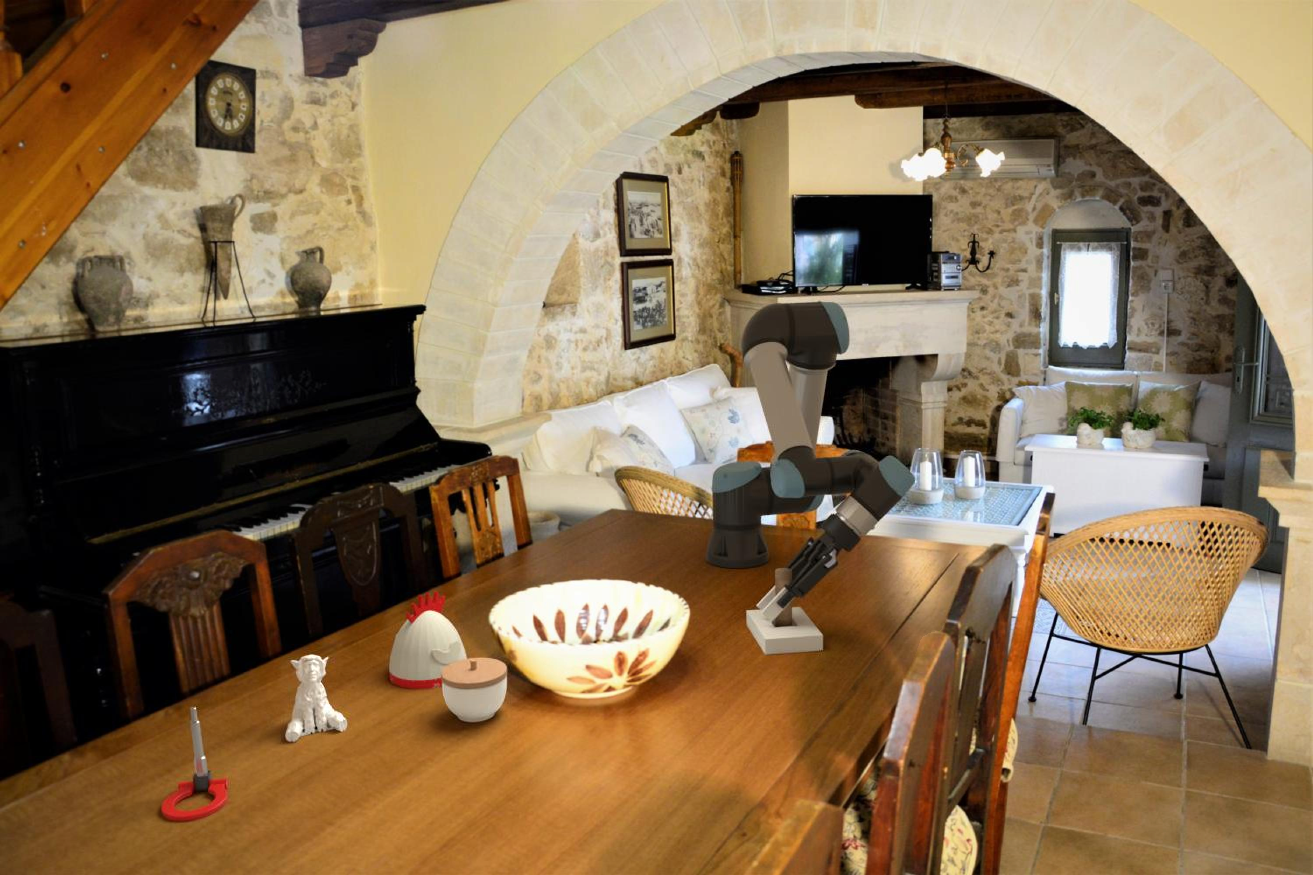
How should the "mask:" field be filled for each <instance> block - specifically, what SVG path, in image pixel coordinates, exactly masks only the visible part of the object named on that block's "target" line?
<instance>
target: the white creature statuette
mask: <svg viewBox="0 0 1313 875" xmlns="http://www.w3.org/2000/svg"><path fill="white" fill-rule="evenodd" d="M328 659H329V656H327V657H325V658H323V659H322V657H321V656H319V655H316V654H309V655H304V656H301V657H300V659H298V660H293V659H291V660H290V663H291V664H292V665H293V668H295V669H296V670H295V674H296V677H297V679H298V681H299V682H300V685H298V687H297V689H296V690H297V691H296V695H295V697H294V698H295V701H294V702H295V703H294V705H293V709H292V714H291V715H292V718H291V720H290V722H288V724H287V728H286V730H285V735H284V736H285V739H286V741H287V742H293V743H295V742H296V741H298V740H299V738H300V737H305V736H309V735H311V733H312V734H315V733H316V732H319V733H322V731H323V732H326V731H330V730H336V731H339V732H341V733H342V732H343V731H346V729H347V727H348V721H347V719H346V717H344V715H343V714H342V713H341V712H339V711H337V710H335V709H334V708H333V707H332V705H331V704H330V702H329V700H328V698H327V696H328V695H327V690H326V689H325V687H324V685H323V683H322V682H321V681H322V679H323V677H325V676H326V675H327V672H326V665H327V661H328ZM316 727H317V729H316Z"/></svg>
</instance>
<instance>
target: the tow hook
mask: <svg viewBox="0 0 1313 875" xmlns="http://www.w3.org/2000/svg"><path fill="white" fill-rule="evenodd" d="M189 711H190V717H191V721H190V723H189V724H190V730H191V738H192V746H193V753H194V758H193V764H194V770H195V772H194V774H193V776H192V780H191V781H180V782H178V785H177V790H176V791H175V792H173V793H171V794H170V795H168V796H167V798H166V799H165V800H164V801H163V802H162V804H161V814H162V815H163V817H164V818H165V819H167V820H169V821H174V822H188V821H189V822H190V821H195V820H199V819H202V818H205V817H208V816H210V815H212V814H214V813H216V812H218V811H219V810H220V809H222V808H223V806H225V804H226V803H227V801H228V790H227V788H229V779H228V778H227V777H223V778H214V779H213V777H212V770H208V766H207V765H208V764H207V757H206V755H205V754H204V753H205V752H204V747H203V739H202V738H203V737H202V731H201V723H200V722H201V721H200V719H198V712H197V707H196V706H191V707H190V709H189ZM194 792H196V793H197V792H199V793H200V792H208V794H209V795H212V796H214V799H213V800H212V801H211V802H210V803H209V804H207V805H205V806H203V807H199V808H197V809H193V810H179V809H177V808H176V806H175V805H176V804H177V803H179V802H180V801H181V800H183V799H185V798H188V797H190V796H191V795H193V793H194Z"/></svg>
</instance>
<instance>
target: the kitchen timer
mask: <svg viewBox="0 0 1313 875" xmlns="http://www.w3.org/2000/svg"><path fill="white" fill-rule="evenodd" d="M417 598H418V599H417V604H415V603H413V602H411V603H410V605H411V609H412V612H413V614H412V615H411V614H410V613H409V612H408V611H404V613H405V617H406V618H407V619H406V621H405V622H404V623H403V625H402V626H401V627H400V629H399V631H398V632H397V633H396V635H395V638H394V642H393V645H392V649H391V653H390V657H389V667H388V668H389V670H388V672H389V680H390V682H391V683H392V684H393V685H395V686H398V687H401V688H403V689H404V688H405V689H416V690H424V689H434V688H440V687H441V688H442V681H441V671H442V670H443V668H444V667H446V666H447V665H449V664H451V663H453V662H456V661H459V660H463V659H468V658H467V656H468V655H467V653H466V649H465V647H464V644H463V641H462V639H461V636H460V635H459V632H458V630H457V629H456V627H455V626H454V625H453V623H452V622H451V621H450V620H449V619H448V618H446V616H444V615H443V614H442V611H443V607H444V604H445V600H446V595H441V596H440V594H439V592H438V591H436V590H434V591H433V596H432V598H431V594H430V593H428V592H425V596H423V595H421V594H418V597H417Z"/></svg>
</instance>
